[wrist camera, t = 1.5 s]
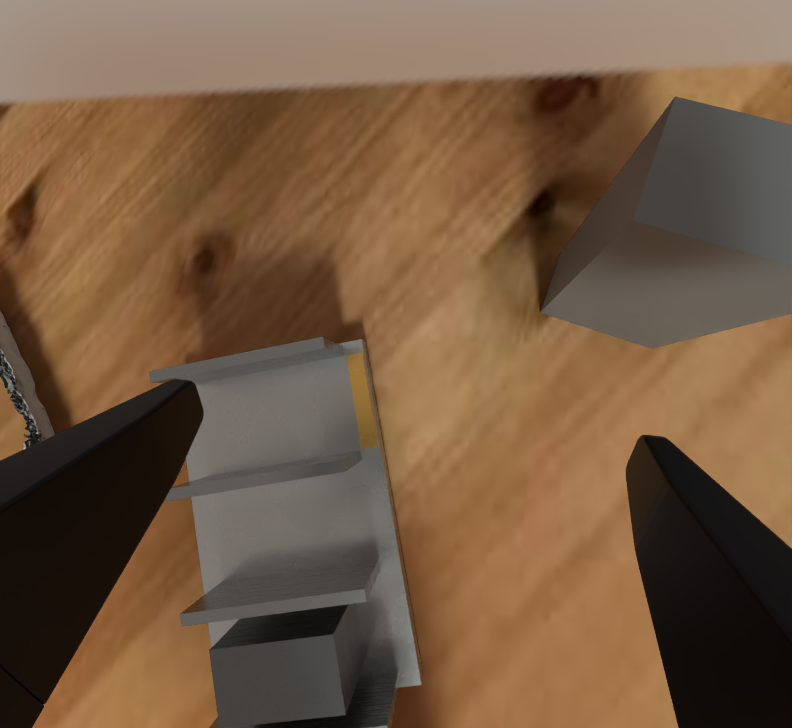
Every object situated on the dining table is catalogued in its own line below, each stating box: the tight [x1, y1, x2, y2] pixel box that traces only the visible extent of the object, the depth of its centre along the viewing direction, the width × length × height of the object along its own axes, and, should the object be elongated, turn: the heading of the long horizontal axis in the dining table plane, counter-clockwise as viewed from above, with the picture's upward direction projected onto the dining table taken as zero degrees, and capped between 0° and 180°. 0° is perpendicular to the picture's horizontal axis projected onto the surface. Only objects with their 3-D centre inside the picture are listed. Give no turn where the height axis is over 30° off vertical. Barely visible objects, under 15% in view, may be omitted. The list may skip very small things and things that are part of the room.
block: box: [540, 97, 792, 348], centre depth 17 cm, size 3×6×12 cm, turn 71°
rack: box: [149, 337, 423, 728], centre depth 21 cm, size 16×10×5 cm, turn 11°
